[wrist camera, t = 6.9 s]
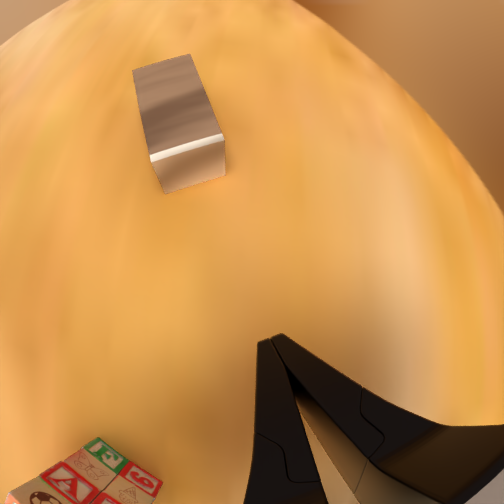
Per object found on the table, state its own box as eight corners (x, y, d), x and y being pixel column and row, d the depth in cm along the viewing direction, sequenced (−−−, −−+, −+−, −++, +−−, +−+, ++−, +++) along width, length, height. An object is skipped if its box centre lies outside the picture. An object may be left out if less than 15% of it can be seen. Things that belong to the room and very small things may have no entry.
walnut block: (224, 140, 20) (190, 53, 22) (151, 162, 19) (132, 70, 21) (225, 175, 24) (194, 91, 27) (165, 194, 24) (144, 106, 26)
